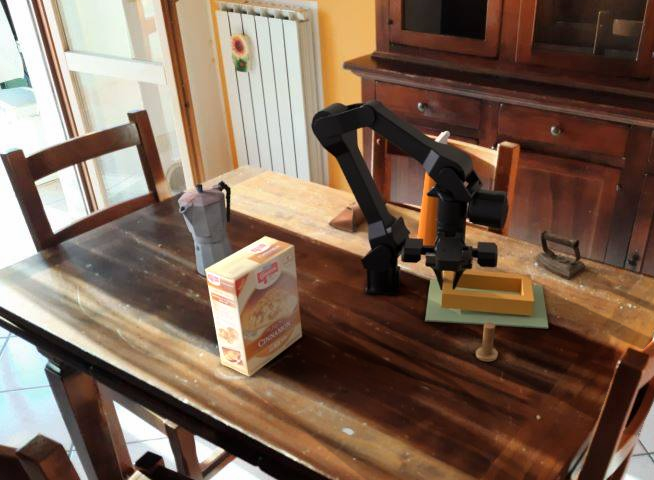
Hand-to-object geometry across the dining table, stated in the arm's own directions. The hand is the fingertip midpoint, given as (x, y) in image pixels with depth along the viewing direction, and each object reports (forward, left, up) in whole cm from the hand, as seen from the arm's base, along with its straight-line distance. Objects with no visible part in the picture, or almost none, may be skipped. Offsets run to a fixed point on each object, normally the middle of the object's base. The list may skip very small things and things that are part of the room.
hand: (447, 289), depth 134 cm
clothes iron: (+24, +18, -3) cm, 30 cm away
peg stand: (+8, -18, -3) cm, 20 cm away
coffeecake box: (-33, -21, -3) cm, 39 cm away
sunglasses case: (-25, +39, -3) cm, 47 cm away
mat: (+8, 0, -3) cm, 9 cm away
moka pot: (-52, +9, -3) cm, 53 cm away
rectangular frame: (+8, 0, -2) cm, 8 cm away
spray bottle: (-4, +26, -3) cm, 26 cm away
